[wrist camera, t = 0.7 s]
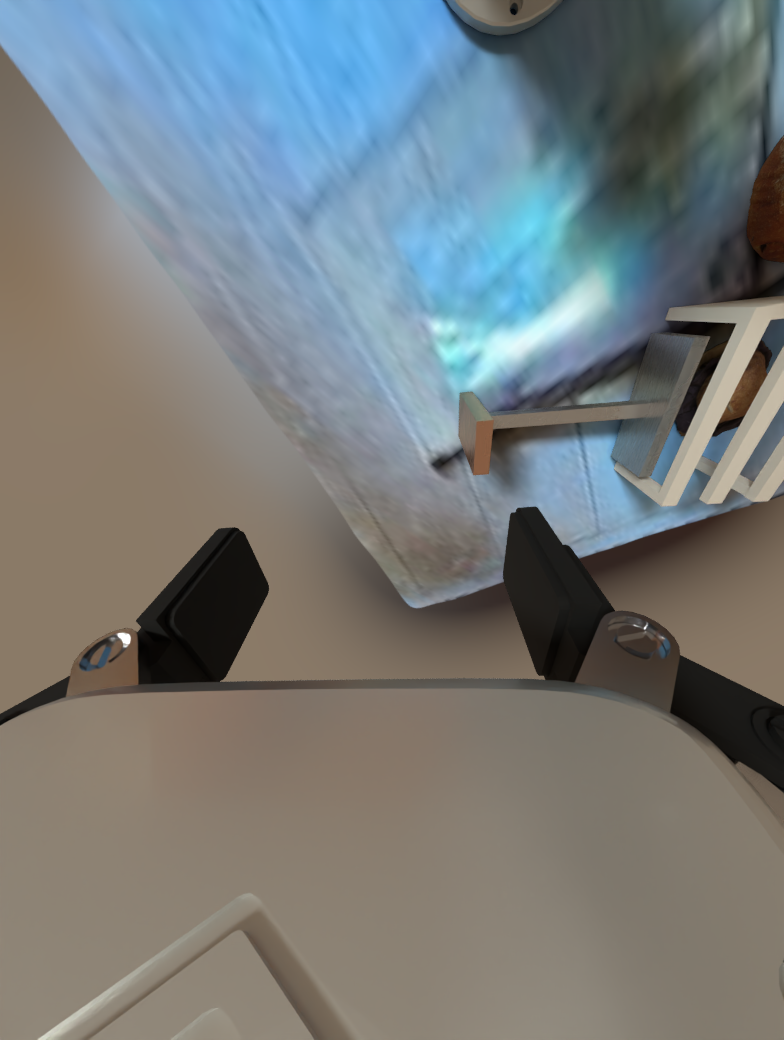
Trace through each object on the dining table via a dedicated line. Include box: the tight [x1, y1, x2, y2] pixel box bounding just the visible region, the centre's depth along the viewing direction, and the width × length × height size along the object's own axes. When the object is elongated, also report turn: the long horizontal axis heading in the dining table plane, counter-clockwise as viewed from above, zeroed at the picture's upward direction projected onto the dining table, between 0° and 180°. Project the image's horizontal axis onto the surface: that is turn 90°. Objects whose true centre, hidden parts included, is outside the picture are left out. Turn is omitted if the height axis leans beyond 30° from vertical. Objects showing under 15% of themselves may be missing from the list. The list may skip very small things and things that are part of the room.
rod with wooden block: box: [458, 332, 710, 477], centre depth 30 cm, size 13×20×11 cm, turn 95°
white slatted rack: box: [614, 295, 784, 506], centre depth 30 cm, size 17×10×9 cm, turn 5°
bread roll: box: [675, 340, 772, 436], centre depth 32 cm, size 11×8×4 cm
